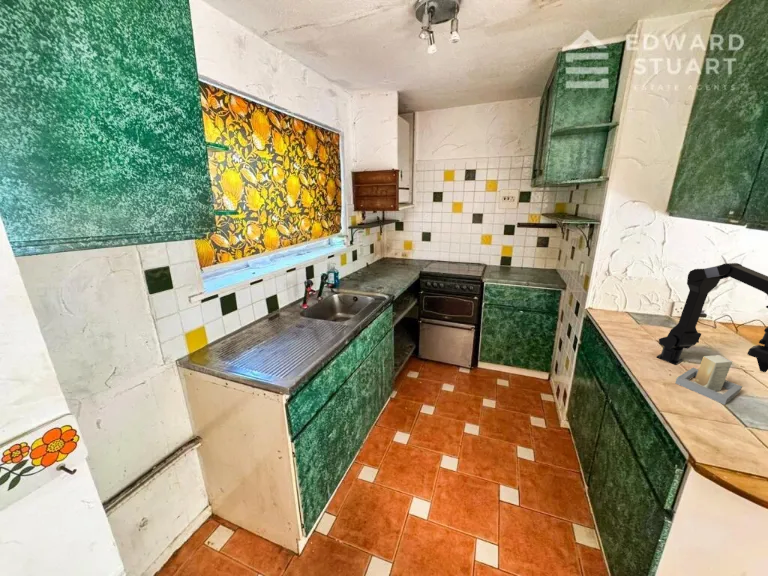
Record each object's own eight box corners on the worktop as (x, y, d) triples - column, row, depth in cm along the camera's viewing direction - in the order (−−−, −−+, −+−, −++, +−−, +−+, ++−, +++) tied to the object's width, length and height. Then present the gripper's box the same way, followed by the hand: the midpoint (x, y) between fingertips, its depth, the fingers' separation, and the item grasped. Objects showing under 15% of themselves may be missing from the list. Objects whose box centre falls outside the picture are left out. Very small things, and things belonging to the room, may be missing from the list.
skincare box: (708, 383, 111) (719, 354, 107) (721, 391, 107) (733, 361, 103) (691, 384, 111) (702, 355, 107) (704, 392, 107) (716, 362, 103)
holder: (691, 372, 117) (693, 367, 116) (739, 392, 106) (742, 386, 105) (675, 383, 112) (677, 377, 111) (724, 404, 101) (727, 398, 100)
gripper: (819, 347, 80) (794, 395, 85) (837, 331, 88) (812, 376, 93) (757, 330, 90) (737, 374, 95) (777, 317, 98) (758, 358, 103)
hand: (762, 371), depth 96 cm, fingers closed
